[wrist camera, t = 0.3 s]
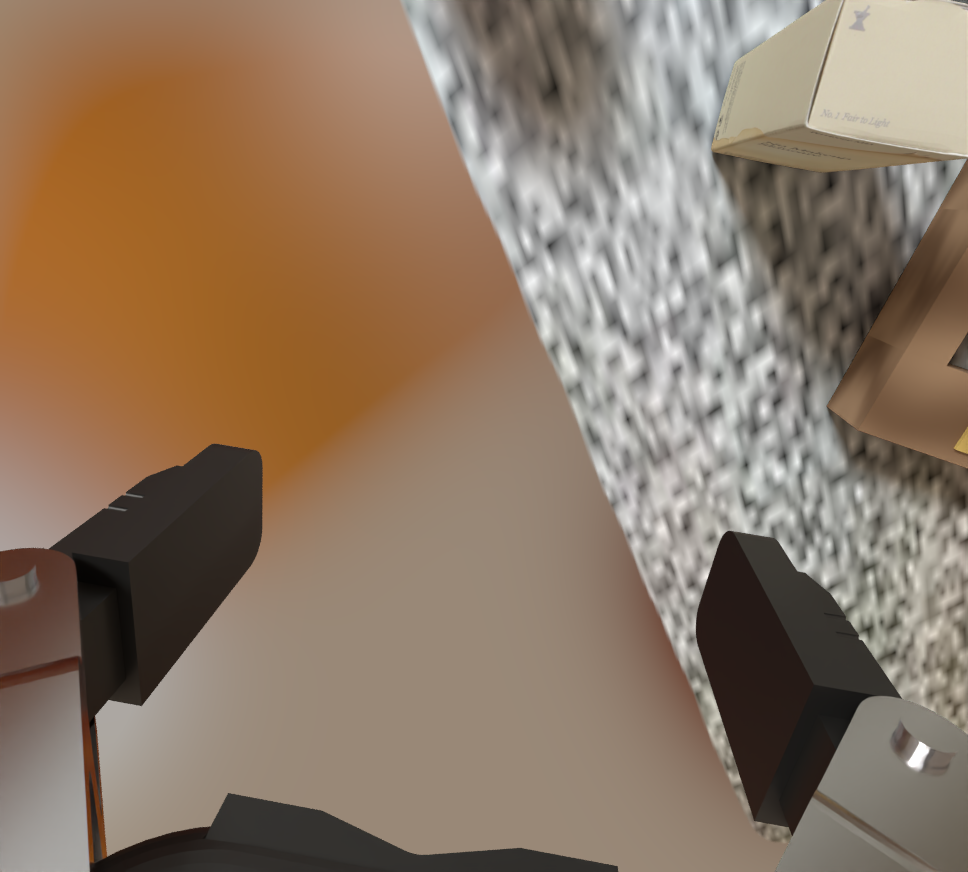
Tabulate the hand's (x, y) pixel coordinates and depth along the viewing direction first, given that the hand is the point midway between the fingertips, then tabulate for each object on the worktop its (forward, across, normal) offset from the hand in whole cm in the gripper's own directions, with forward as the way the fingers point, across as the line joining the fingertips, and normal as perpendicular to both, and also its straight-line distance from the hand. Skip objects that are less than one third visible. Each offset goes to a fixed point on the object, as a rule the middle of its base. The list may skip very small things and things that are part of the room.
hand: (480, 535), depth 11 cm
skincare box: (+28, -11, -10) cm, 32 cm away
